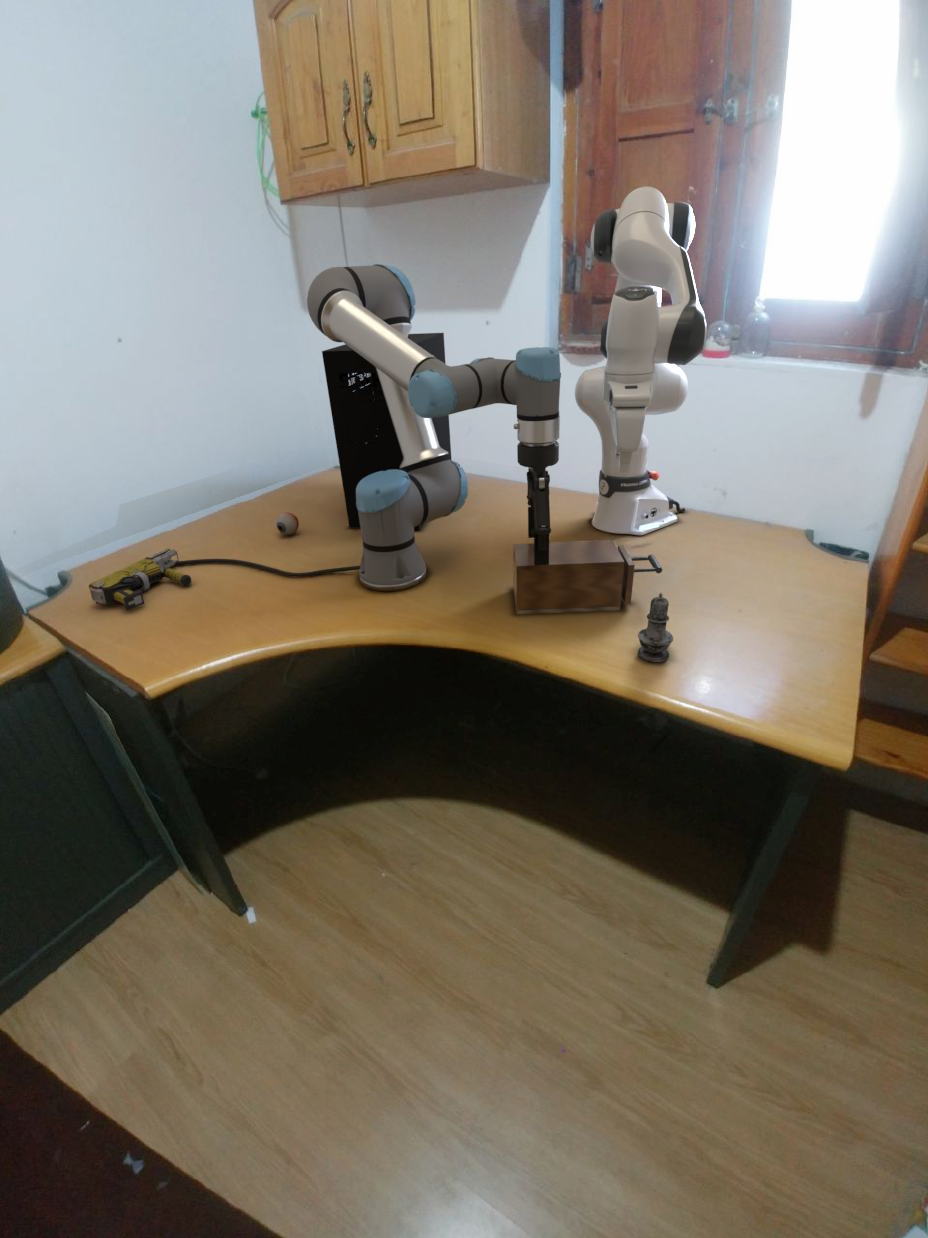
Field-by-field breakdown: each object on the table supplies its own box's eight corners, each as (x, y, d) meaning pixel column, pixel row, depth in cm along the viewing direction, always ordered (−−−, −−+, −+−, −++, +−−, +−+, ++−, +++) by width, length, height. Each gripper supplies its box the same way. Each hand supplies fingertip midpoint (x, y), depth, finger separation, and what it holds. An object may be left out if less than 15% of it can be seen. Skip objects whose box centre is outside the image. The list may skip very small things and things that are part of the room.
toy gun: (215, 556, 146) (165, 546, 150) (137, 598, 126) (82, 584, 130) (218, 574, 148) (168, 563, 152) (142, 617, 128) (87, 603, 132)
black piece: (419, 530, 162) (402, 348, 140) (349, 527, 167) (321, 351, 144) (453, 486, 194) (443, 332, 171) (393, 485, 198) (376, 334, 176)
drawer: (648, 581, 128) (652, 543, 124) (661, 602, 120) (666, 563, 116) (530, 585, 129) (530, 548, 125) (534, 607, 121) (534, 568, 116)
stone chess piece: (672, 664, 103) (681, 602, 97) (636, 661, 104) (643, 600, 98) (669, 645, 108) (677, 585, 102) (635, 643, 109) (641, 584, 103)
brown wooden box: (609, 585, 129) (612, 539, 124) (620, 610, 120) (624, 561, 115) (513, 589, 130) (513, 543, 125) (516, 614, 121) (516, 566, 115)
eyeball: (273, 537, 164) (268, 516, 161) (287, 528, 169) (282, 508, 166) (291, 539, 161) (286, 518, 158) (305, 530, 166) (301, 510, 163)
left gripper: (513, 427, 120) (515, 528, 130) (522, 460, 98) (523, 578, 109) (550, 425, 120) (549, 526, 130) (568, 458, 98) (565, 576, 108)
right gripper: (606, 381, 119) (602, 451, 126) (613, 398, 101) (607, 479, 108) (639, 380, 118) (633, 451, 125) (652, 397, 100) (644, 479, 107)
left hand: (538, 550), depth 119 cm, fingers open, 13 cm apart
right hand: (621, 464), depth 116 cm, fingers open, 8 cm apart
